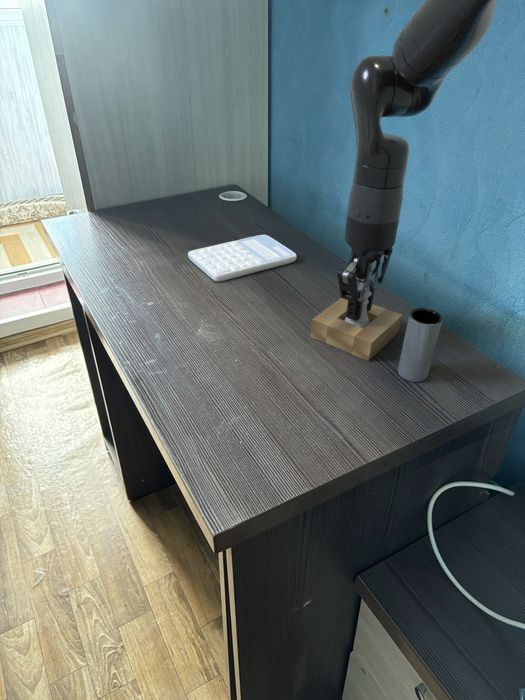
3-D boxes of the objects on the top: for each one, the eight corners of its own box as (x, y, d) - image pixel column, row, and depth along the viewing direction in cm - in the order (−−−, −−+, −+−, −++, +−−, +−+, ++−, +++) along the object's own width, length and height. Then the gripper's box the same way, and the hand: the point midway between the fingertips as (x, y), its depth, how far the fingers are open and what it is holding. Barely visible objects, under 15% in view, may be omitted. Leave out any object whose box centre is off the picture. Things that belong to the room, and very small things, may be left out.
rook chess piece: (372, 326, 88) (379, 284, 83) (365, 339, 85) (372, 296, 80) (347, 320, 89) (352, 278, 85) (339, 332, 86) (344, 290, 82)
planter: (398, 380, 78) (410, 322, 72) (396, 362, 81) (408, 306, 75) (429, 384, 77) (444, 325, 71) (426, 366, 81) (440, 309, 75)
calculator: (186, 258, 110) (185, 250, 109) (265, 239, 119) (265, 232, 118) (215, 283, 101) (215, 275, 100) (298, 261, 110) (299, 253, 109)
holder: (398, 332, 89) (402, 314, 87) (368, 361, 81) (371, 343, 79) (343, 311, 94) (345, 294, 92) (310, 336, 87) (312, 319, 85)
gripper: (373, 233, 69) (357, 340, 79) (417, 205, 78) (398, 304, 88) (325, 219, 73) (316, 323, 82) (373, 194, 82) (359, 291, 92)
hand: (358, 313), depth 85 cm, fingers closed on rook chess piece, 3 cm apart
